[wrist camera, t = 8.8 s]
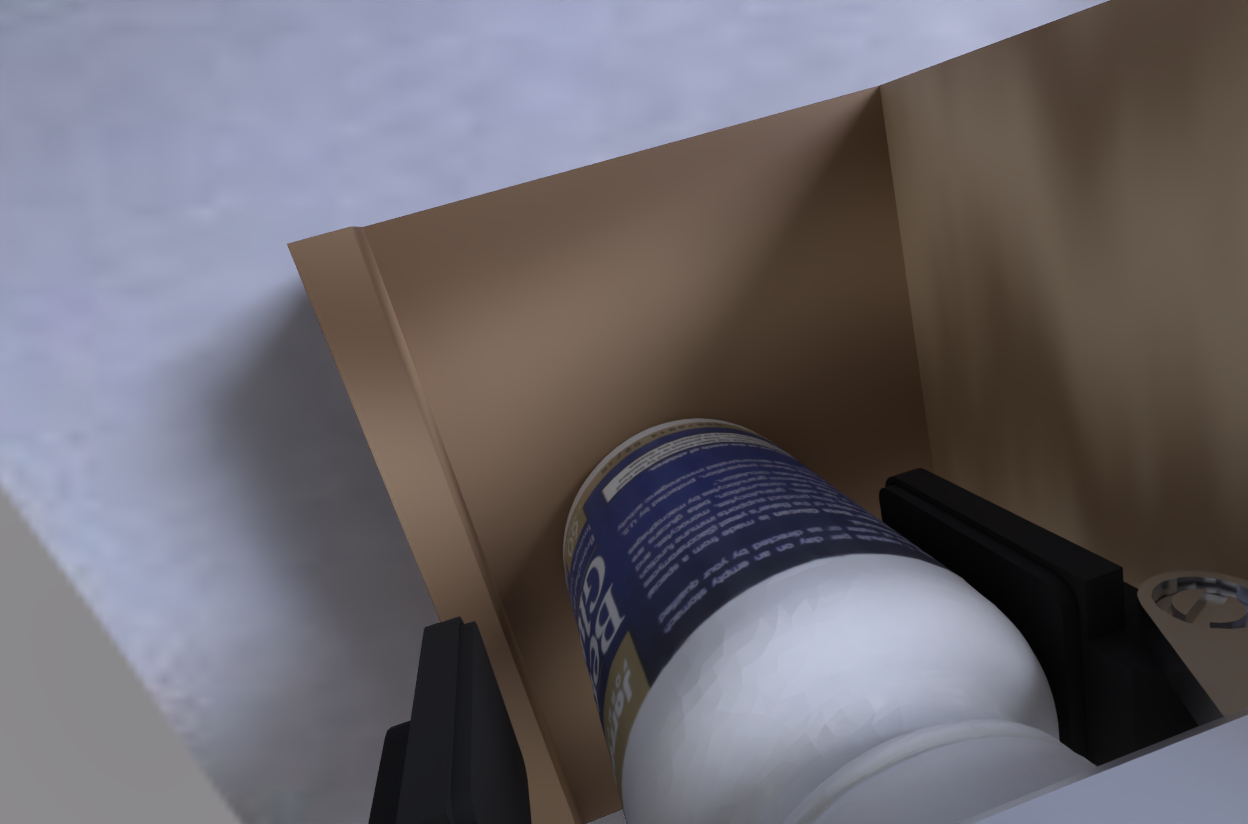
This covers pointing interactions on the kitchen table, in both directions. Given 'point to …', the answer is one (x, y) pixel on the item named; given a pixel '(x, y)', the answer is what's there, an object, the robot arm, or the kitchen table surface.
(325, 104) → the kitchen table surface
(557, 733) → the cardboard holder
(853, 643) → the pill bottle
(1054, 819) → the robot arm
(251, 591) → the kitchen table surface
